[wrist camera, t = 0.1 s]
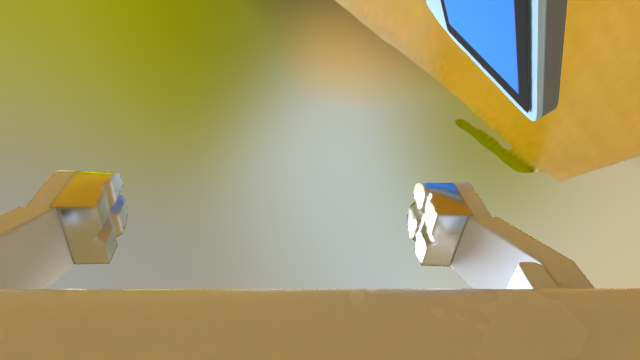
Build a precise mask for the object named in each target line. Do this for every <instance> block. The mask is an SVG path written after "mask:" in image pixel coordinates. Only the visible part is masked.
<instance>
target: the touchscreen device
mask: <svg viewBox="0 0 640 360" xmlns="http://www.w3.org/2000/svg"><path fill="white" fill-rule="evenodd" d="M426 2H427V5H428V7H429V9H430V10H431V11H432V13H433V14H434V16H435V17H436V19H437V21H438V22H439V23H440V25H441V26H442V27H443V28H444V29H445V30H446V31H447V33H448V34H449V36H450V37H451V38H452V39H453V40H454V42H455V43H456V44H457V45H458V46H459V47H460V48H461V49H462V50H463V51H464V52H465V53H466V54H467V55H468V56H469V57H470V58H471V59H472V60H473V61H474V63H475V64H476V65H477V66H478V67H479V68H480V69H481V70H482V71H483V72H484V73H485V74H486V75H487V76H488V77H489V78H490V79H491V80H492V81H493V82H494V83H495V85H496V86H497V87H498V88H499V89H500V90H501V91H502V92H503V93H504V94H505V95H506V96H507V97H508V98H509V99H510V100H511V101H512V102H513V103H514V104H515V105H516V107H517V108H518V109H519V110H520V111H521V112H522V113H523V114H524V115H525V116H526V117H527V118H529V119H530V120H531V121H536V120H537V119H539V118H541V117H542V116H544V115H546V114H547V113H549V112H551V111H552V110H554V109H555V108H556V107H557V105H558V100H559V89H560V77H561V66H562V54H563V43H564V31H565V20H566V8H567V0H426Z"/></svg>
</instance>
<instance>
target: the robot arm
mask: <svg viewBox="0 0 640 360" xmlns="http://www.w3.org/2000/svg"><path fill="white" fill-rule="evenodd" d="M122 188H123V184H122V180H121V176H120V175H119V174H118V173H111V172H91V171H68V170H58V171H54V172H53V173H52V174H51V176H50V177H49V178H48V179H47V181H46V182H45V183H44V184H43V186H42V187H41V188H40V190H39V191H38V192H37V193H36V195H35V196H34V197H33V198H32V200H31V201H30V202H29V203H28V205H27V206H26V207H18V208H16V209H14V210H11V211H9V212H7V213H5V214H3V215H1V216H0V360H640V289H595V288H594V287H593V285H592V284H591V283H590V282H589V280H588V279H587V278H586V276H585V275H584V274H583V273H582V271H581V270H580V269H579V268H578V266H577V265H576V264H575V262H574V261H572V260H570V259H569V258H567V257H565V256H564V255H562V254H560V253H558V252H557V251H555V250H553V249H551V248H550V247H548V246H546V245H545V244H543V243H541V242H540V241H538V240H536V239H534V238H533V237H531V236H529V235H528V234H526V233H524V232H522V231H521V230H519V229H517V228H516V227H514V226H512V225H510V224H509V223H507V222H505V221H504V220H502V219H500V218H498V217H492V216H491V214H490V212H489V211H488V210H487V208H486V206H485V205H484V203H483V202H482V200H481V199H480V197H479V196H478V194H477V193H476V191H475V190H474V188H473V187H472V185H471V184H469V183H417V184H416V186H415V188H414V192H413V196H414V198H415V202H414V203H413V204H412V205H411V206H410V207H409V211H408V215H407V227H408V232H409V235H410V238H411V239H413V240H414V241H415V242H416V246H415V251H416V254H417V256H418V259H419V261H420V264H421V265H423V266H450V268H451V269H452V270H453V271H454V272H455V273H456V274H457V275H459V277H461V278H462V279H463V280H464V281H465V282H466V283H467V284H468V285H469V286H470V287H471V288H472V289H46V288H47V287H48V286H50V285H51V284H52V283H53V282H55V281H56V280H57V279H58V278H60V277H61V276H62V275H63V274H65V273H66V272H67V271H69V270H70V269H71V268H72V267H74V264H109V263H110V261H111V259H112V257H113V254H114V252H115V250H116V248H117V241H116V238H117V237H119V236H120V235H122V234H123V232H124V229H125V227H126V222H127V204H126V200H125V199H124V198H123V197H122V196H121V195H120V192H121V190H122Z"/></svg>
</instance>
